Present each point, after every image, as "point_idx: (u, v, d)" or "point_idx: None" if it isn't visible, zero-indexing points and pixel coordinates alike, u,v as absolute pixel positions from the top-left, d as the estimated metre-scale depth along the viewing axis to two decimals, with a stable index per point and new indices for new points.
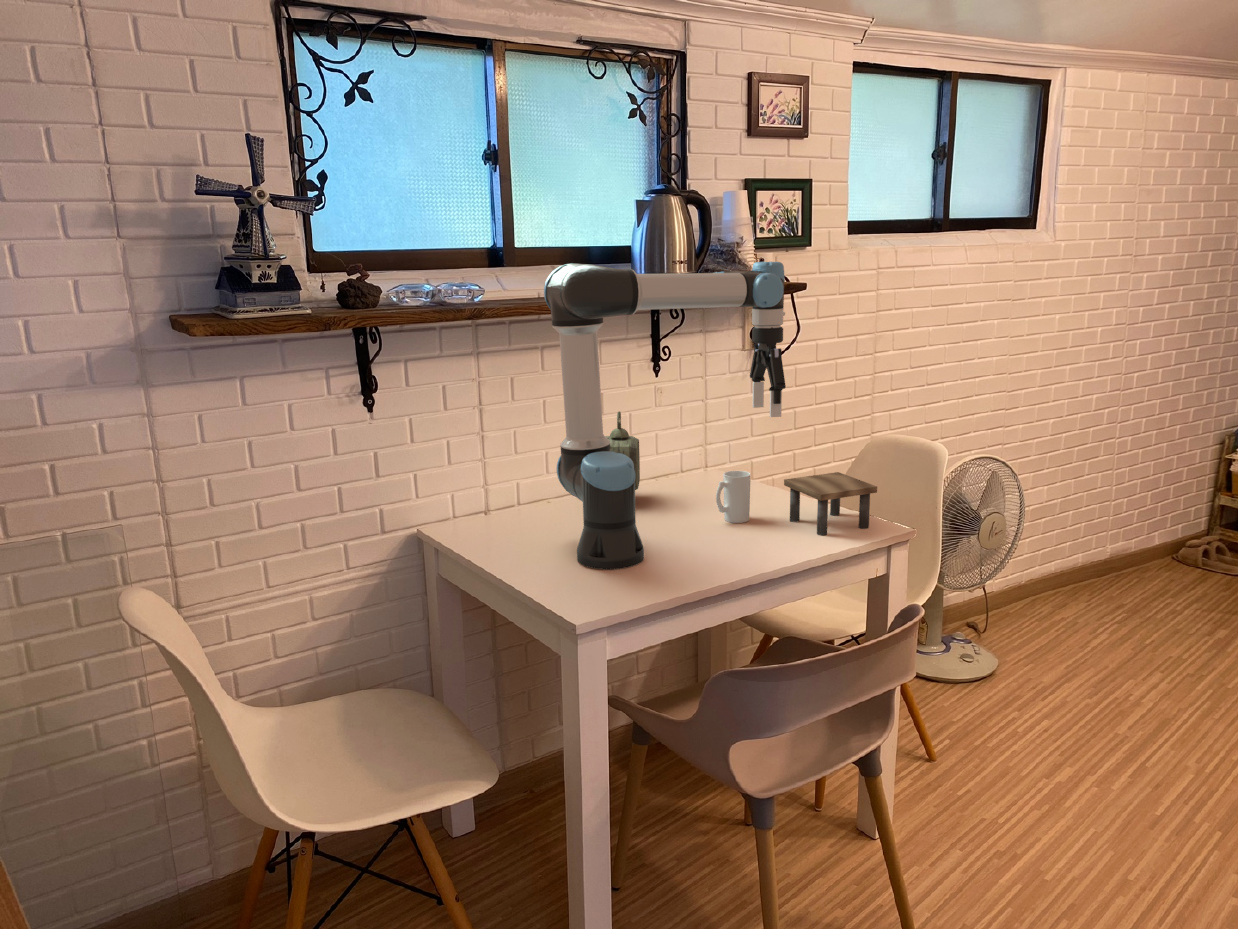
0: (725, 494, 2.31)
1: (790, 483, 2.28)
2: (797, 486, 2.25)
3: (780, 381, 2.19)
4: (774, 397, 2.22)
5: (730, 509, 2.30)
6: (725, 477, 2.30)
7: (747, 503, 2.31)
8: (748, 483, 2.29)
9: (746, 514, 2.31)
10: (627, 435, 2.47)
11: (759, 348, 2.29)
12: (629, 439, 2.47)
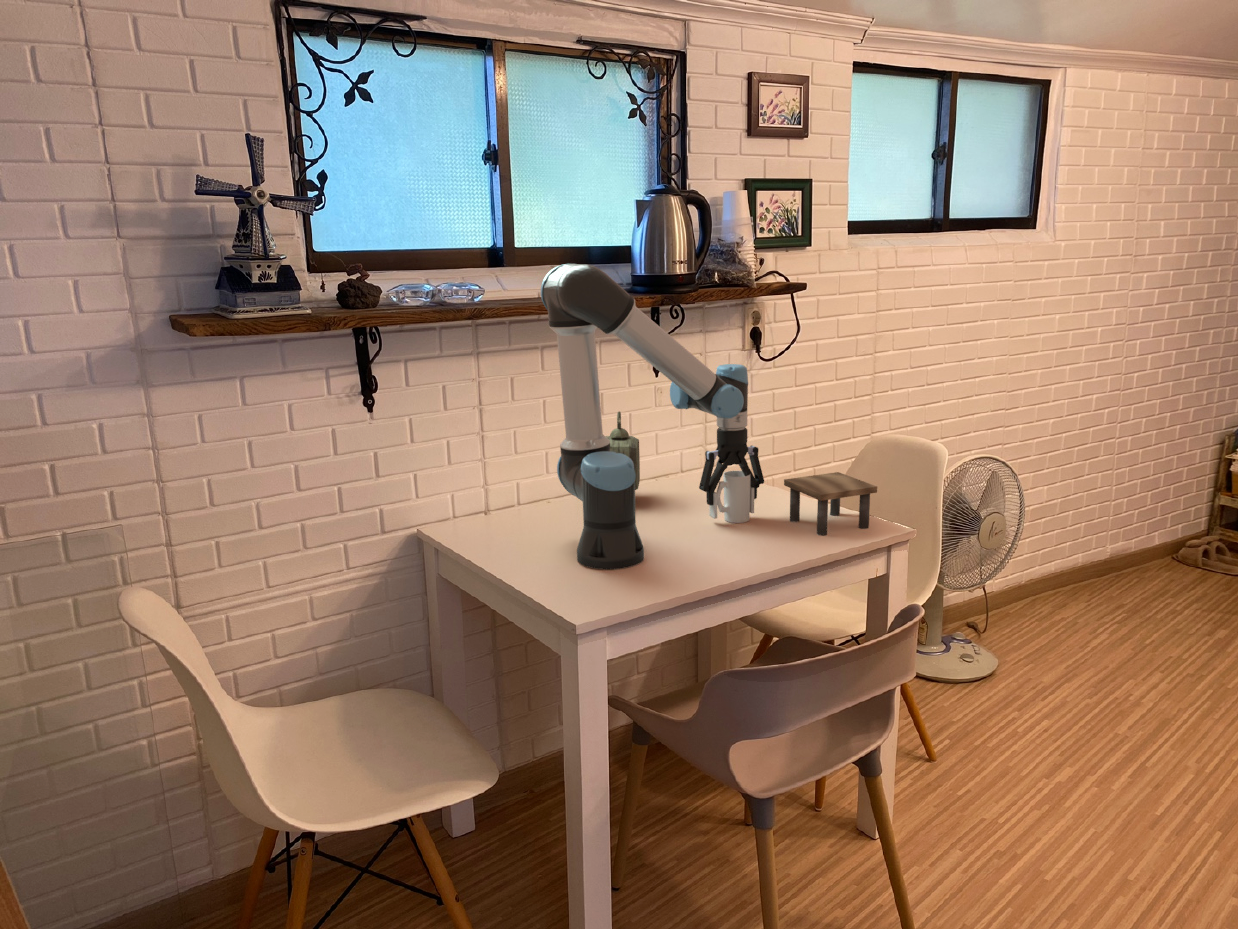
0: (725, 494, 2.31)
1: (790, 483, 2.28)
2: (797, 486, 2.25)
3: (702, 484, 2.27)
4: None
5: (730, 509, 2.30)
6: (725, 477, 2.30)
7: (747, 503, 2.31)
8: (748, 483, 2.29)
9: (746, 514, 2.31)
10: (627, 435, 2.47)
11: None
12: (629, 439, 2.47)
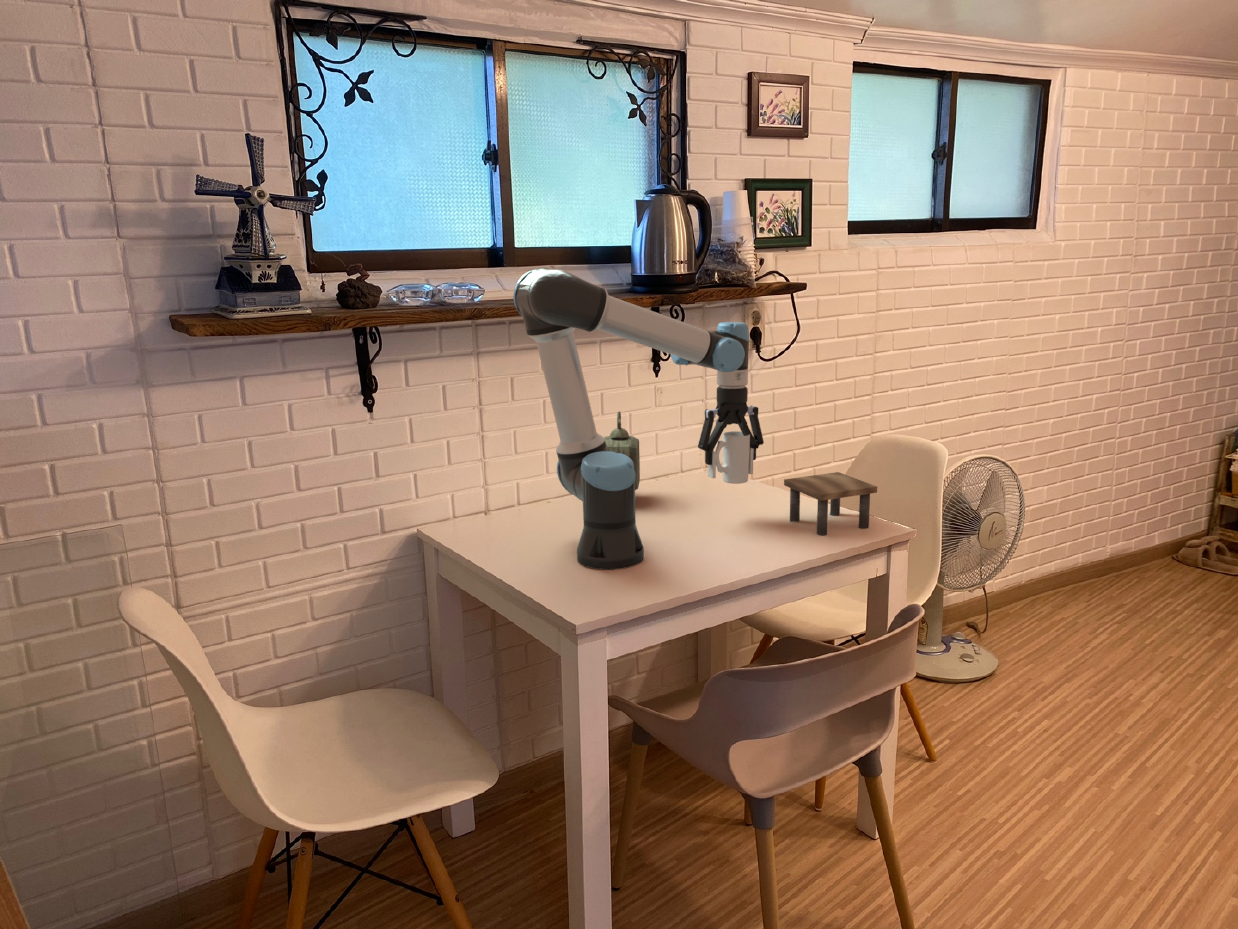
0: (724, 454, 2.28)
1: (790, 483, 2.28)
2: (797, 486, 2.25)
3: (701, 442, 2.25)
4: None
5: (729, 469, 2.28)
6: (724, 437, 2.27)
7: (746, 463, 2.28)
8: (747, 443, 2.27)
9: (745, 474, 2.29)
10: (627, 435, 2.47)
11: None
12: (629, 439, 2.47)
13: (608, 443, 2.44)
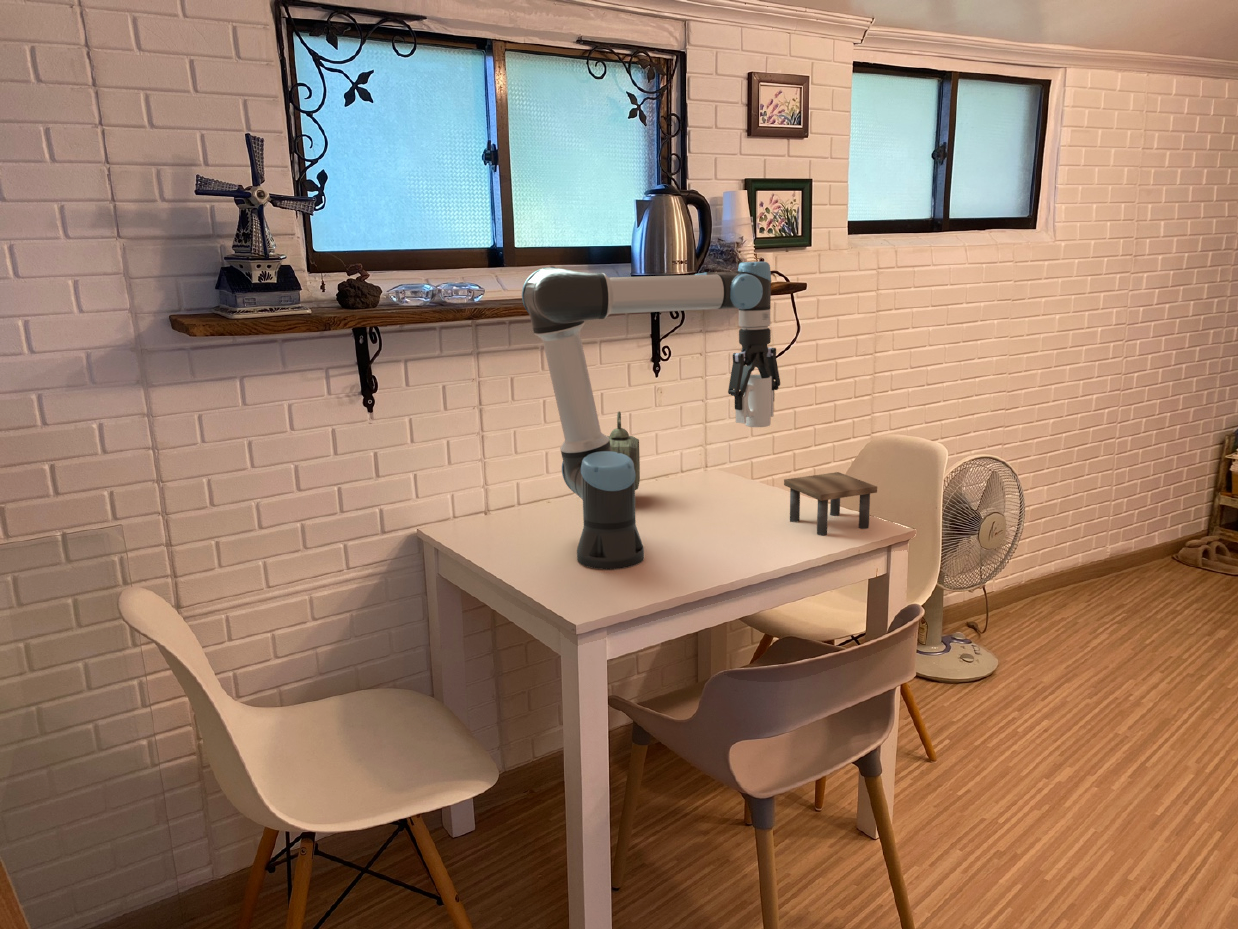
0: (749, 398, 2.24)
1: (790, 483, 2.28)
2: (797, 486, 2.25)
3: (733, 387, 2.18)
4: None
5: (756, 413, 2.24)
6: (749, 380, 2.23)
7: (770, 406, 2.25)
8: (771, 385, 2.24)
9: (770, 417, 2.26)
10: (627, 435, 2.47)
11: None
12: (629, 439, 2.47)
13: None
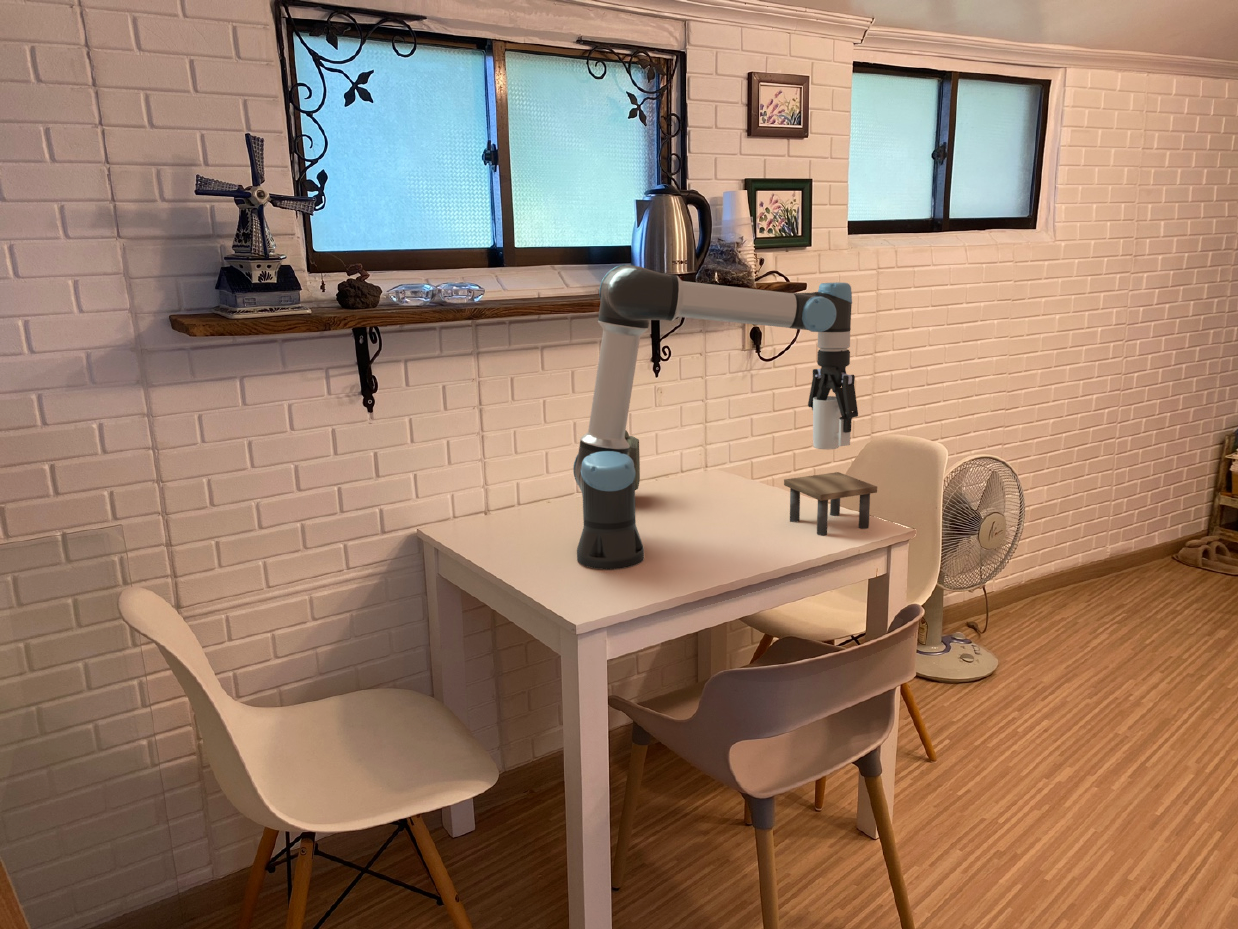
0: (834, 420, 2.21)
1: (790, 483, 2.28)
2: (797, 486, 2.25)
3: (853, 410, 2.14)
4: (844, 426, 2.16)
5: None
6: (835, 402, 2.19)
7: None
8: None
9: None
10: (627, 435, 2.47)
11: (822, 371, 2.22)
12: (629, 439, 2.47)
13: None
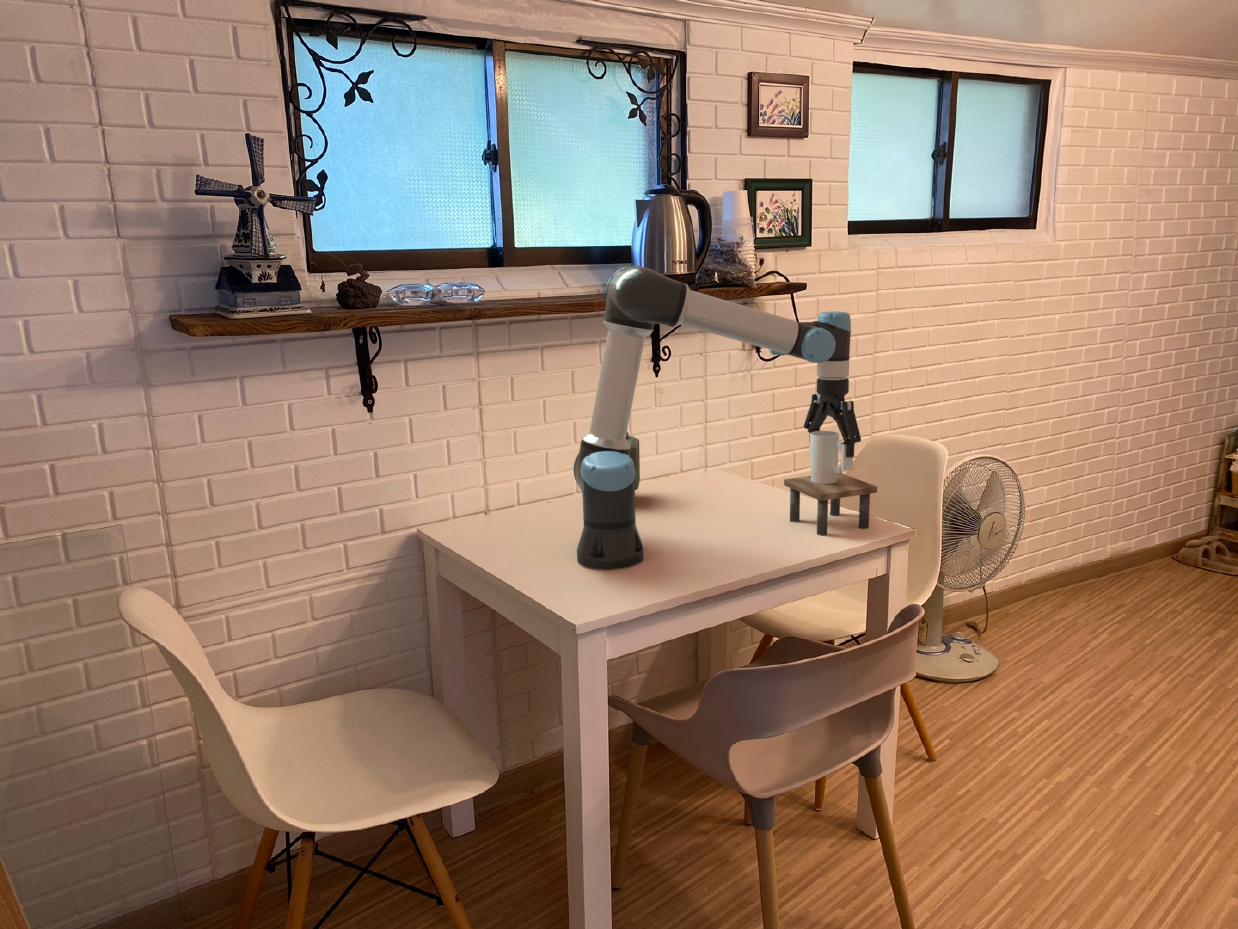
0: (832, 456, 2.23)
1: (790, 483, 2.28)
2: (797, 486, 2.25)
3: (856, 434, 2.14)
4: (847, 451, 2.16)
5: None
6: (833, 438, 2.22)
7: None
8: None
9: None
10: (627, 435, 2.47)
11: (821, 399, 2.23)
12: (629, 439, 2.47)
13: None
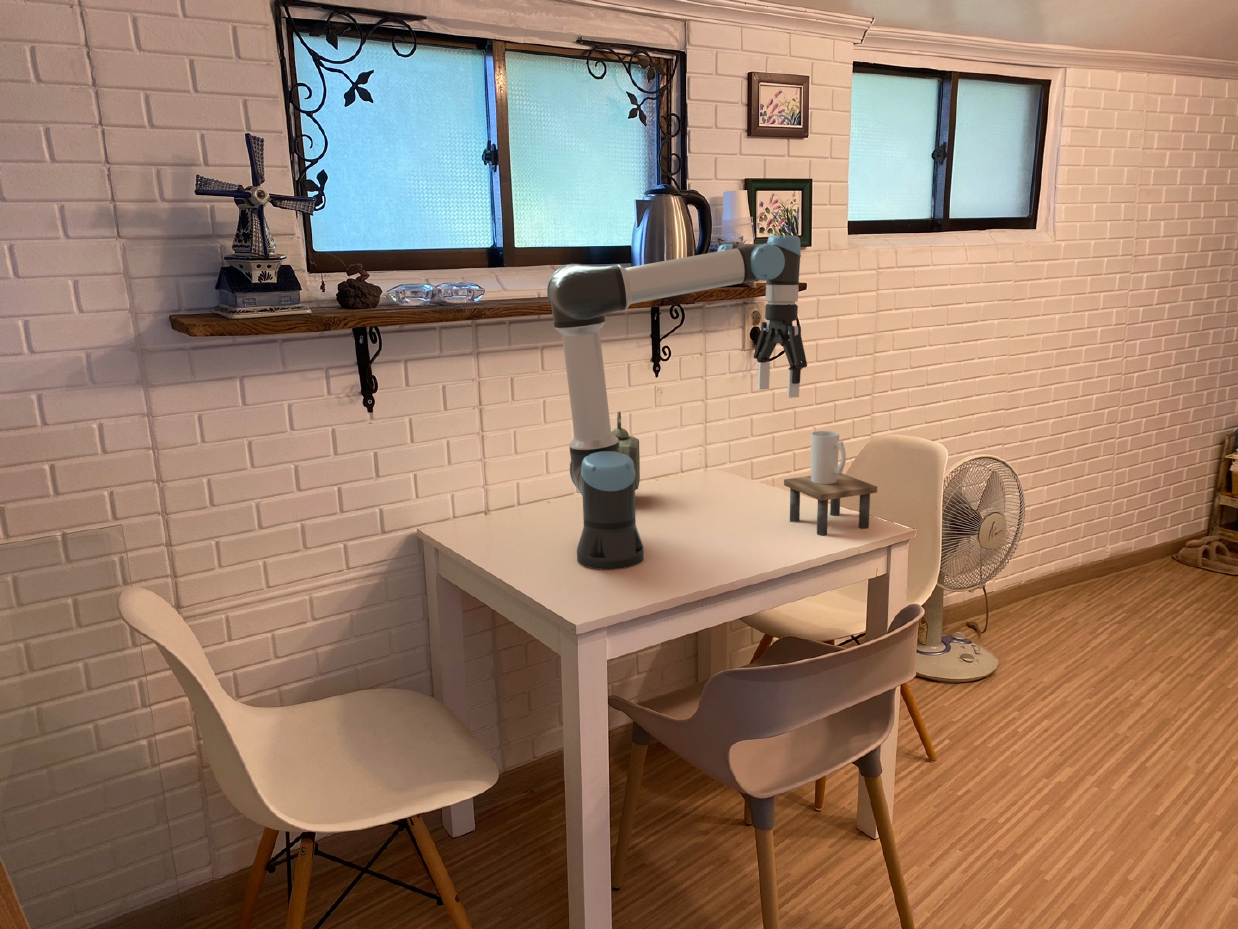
0: (832, 456, 2.23)
1: (790, 483, 2.28)
2: (797, 486, 2.25)
3: (802, 359, 2.10)
4: (793, 376, 2.12)
5: None
6: (833, 438, 2.22)
7: None
8: None
9: None
10: (627, 435, 2.47)
11: (770, 326, 2.19)
12: (629, 439, 2.47)
13: None
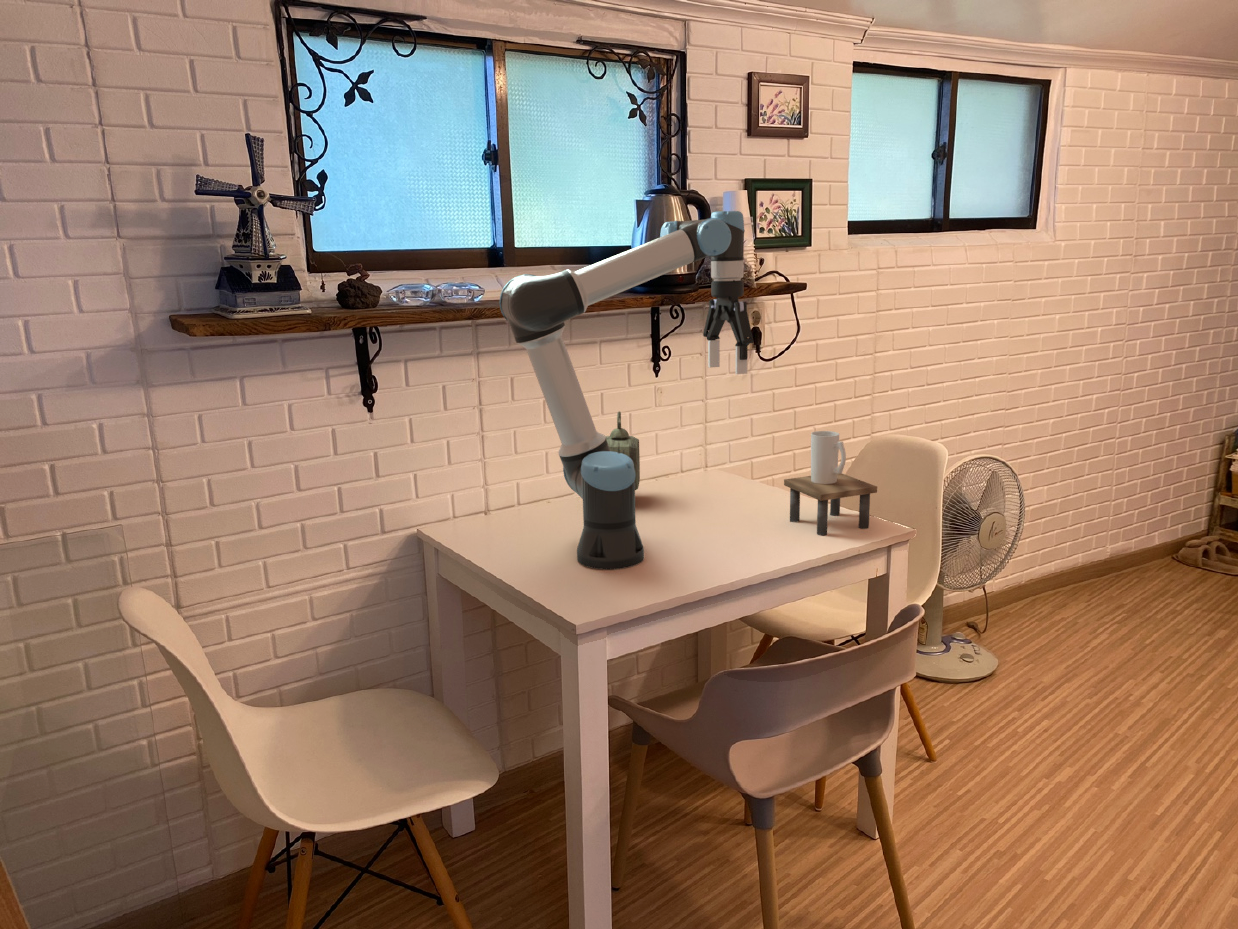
0: (832, 456, 2.23)
1: (790, 483, 2.28)
2: (797, 486, 2.25)
3: (748, 335, 2.09)
4: (741, 353, 2.12)
5: None
6: (833, 438, 2.22)
7: None
8: None
9: None
10: (627, 435, 2.47)
11: (717, 303, 2.19)
12: (629, 439, 2.47)
13: (608, 444, 2.44)
